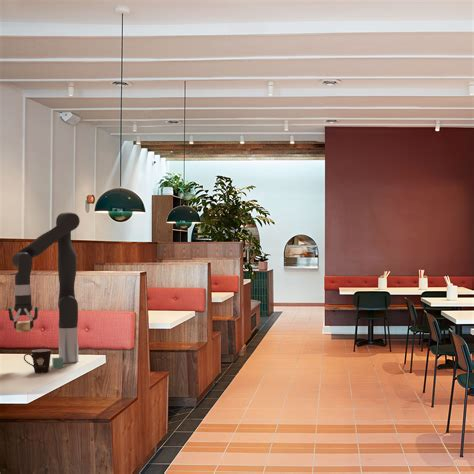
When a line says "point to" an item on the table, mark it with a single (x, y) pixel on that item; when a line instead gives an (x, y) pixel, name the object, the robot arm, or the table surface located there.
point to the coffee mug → (40, 360)
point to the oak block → (23, 326)
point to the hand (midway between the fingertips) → (23, 328)
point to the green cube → (57, 362)
